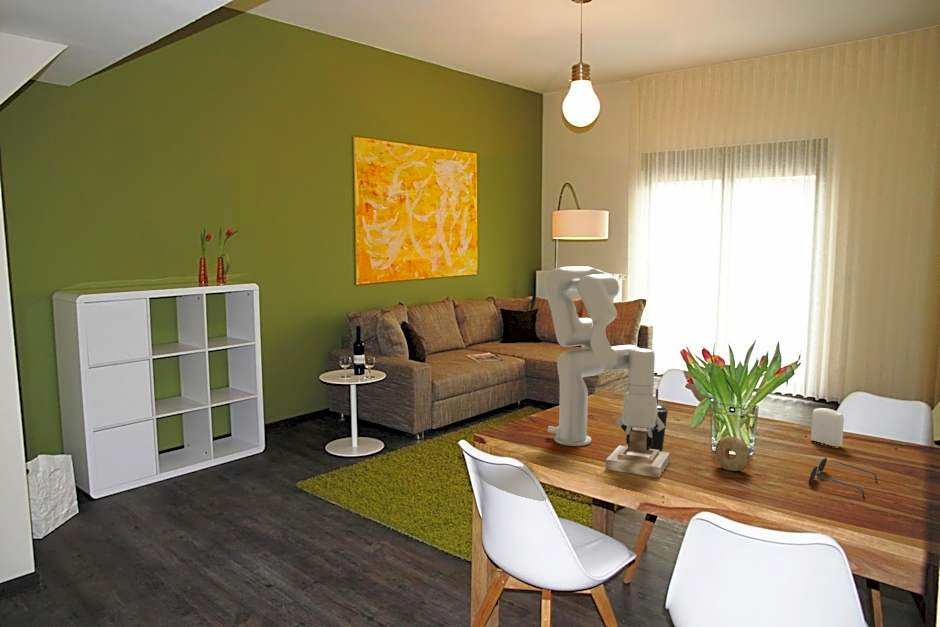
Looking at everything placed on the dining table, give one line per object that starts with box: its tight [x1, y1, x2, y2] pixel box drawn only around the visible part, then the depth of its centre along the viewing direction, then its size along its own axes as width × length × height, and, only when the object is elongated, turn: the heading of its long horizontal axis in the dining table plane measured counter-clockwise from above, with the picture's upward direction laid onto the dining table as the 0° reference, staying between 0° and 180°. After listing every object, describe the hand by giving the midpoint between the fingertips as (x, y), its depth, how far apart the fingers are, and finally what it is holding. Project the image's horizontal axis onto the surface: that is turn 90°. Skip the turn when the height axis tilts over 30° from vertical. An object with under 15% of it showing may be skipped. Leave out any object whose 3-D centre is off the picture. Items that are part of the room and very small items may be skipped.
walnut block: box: [629, 427, 648, 453], centre depth 211 cm, size 5×5×6 cm
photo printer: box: [810, 407, 845, 446], centre depth 235 cm, size 10×4×12 cm, turn 29°
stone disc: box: [714, 436, 752, 472], centre depth 208 cm, size 10×4×10 cm, turn 48°
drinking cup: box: [650, 388, 669, 451], centre depth 229 cm, size 8×8×20 cm
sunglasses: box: [808, 457, 878, 499], centre depth 198 cm, size 17×15×5 cm
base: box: [605, 444, 671, 478], centre depth 212 cm, size 16×16×4 cm
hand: (639, 447), depth 211 cm, fingers closed on walnut block, 5 cm apart
